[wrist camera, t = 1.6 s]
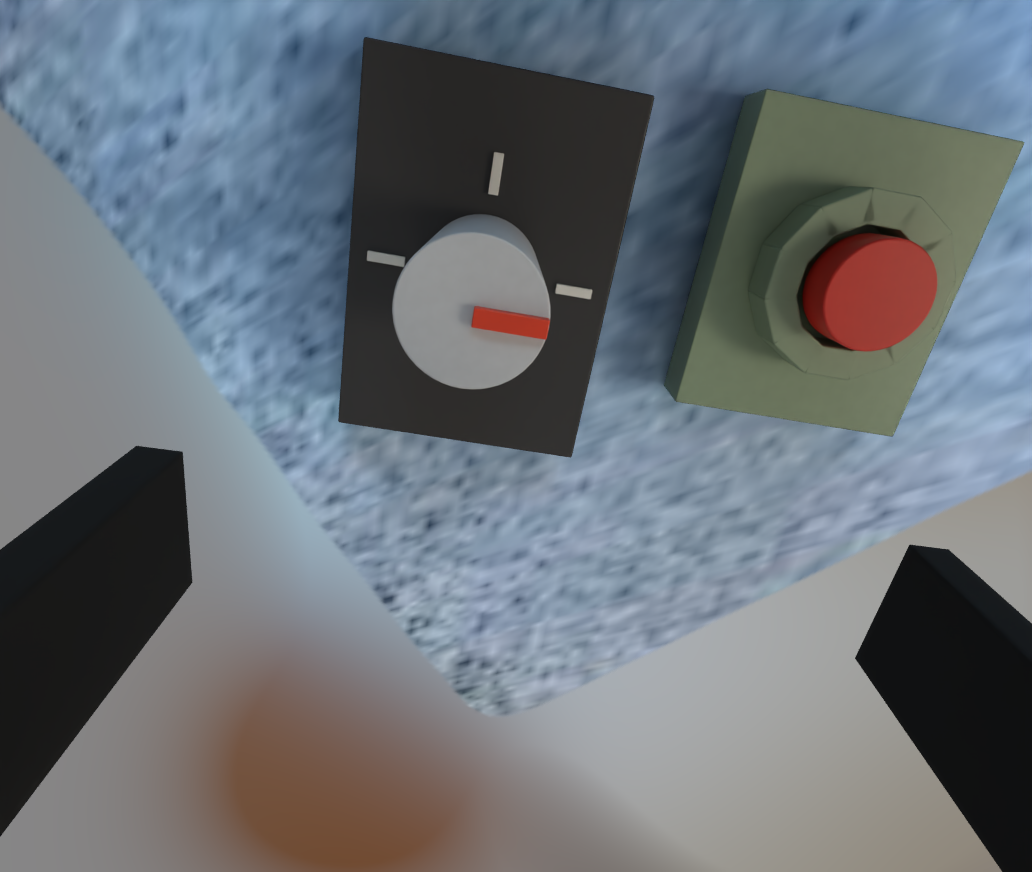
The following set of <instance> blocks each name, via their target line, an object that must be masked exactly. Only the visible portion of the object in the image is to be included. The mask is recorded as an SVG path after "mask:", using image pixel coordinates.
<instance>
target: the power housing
mask: <svg viewBox="0 0 1032 872" xmlns="http://www.w3.org/2000/svg"><path fill="white" fill-rule="evenodd" d="M1023 145H1024V142H1022V141H1017V140H1012V139H1008V138H1003V137H998V136H993V135H988V134H983V133H979V132H974V131H969V130H964V129H959V128H954V127H950V126H945V125H940V124H935V123H930V122H925V121H920V120H916V119H911V118H906V117H901V116H896V115H891V114H887V113H882V112H877V111H872V110H867V109H862V108H857V107H853V106H848V105H843V104H838V103H833V102H828V101H824V100H819V99H814V98H809V97H804V96H799V95H795V94H790V93H785V92H780V91H775V90H770V89H765V90H762V91H759V92H755V93H752V94H749V95H746V96H745V98H744V101H743V105H742V108H741V112H740V116H739V119H738V123H737V126H736V130H735V133H734V137H733V141H732V144H731V148H730V151H729V155H728V158H727V162H726V165H725V169H724V173H723V176H722V180H721V183H720V187H719V190H718V194H717V197H716V201H715V205H714V208H713V212H712V215H711V219H710V222H709V226H708V230H707V233H706V237H705V240H704V244H703V247H702V251H701V254H700V258H699V262H698V265H697V269H696V272H695V276H694V279H693V283H692V286H691V290H690V294H689V297H688V301H687V304H686V308H685V311H684V315H683V319H682V322H681V326H680V329H679V333H678V336H677V340H676V343H675V347H674V351H673V354H672V358H671V361H670V365H669V368H668V372H667V375H666V379H665V383H664V386H665V387H666V389H667V390H668V392H669V393H670V394H671V396H672V397H673V399H674V400H675V401H676V402H682V403H688V404H694V405H700V406H707V407H713V408H719V409H725V410H731V411H737V412H744V413H750V414H756V415H762V416H768V417H774V418H781V419H787V420H793V421H799V422H805V423H811V424H818V425H824V426H830V427H836V428H842V429H848V430H855V431H861V432H867V433H873V434H879V435H885V436H893V435H894V433H895V430H896V428H897V426H898V424H899V421H900V419H901V417H902V415H903V412H904V410H905V408H906V406H907V404H908V401H909V399H910V397H911V395H912V392H913V390H914V388H915V386H916V383H917V381H918V379H919V377H920V375H921V372H922V370H923V368H924V366H925V363H926V361H927V359H928V357H929V354H930V352H931V350H932V348H933V346H934V343H935V341H936V339H937V337H938V334H939V332H940V330H941V328H942V325H943V323H944V321H945V319H946V317H947V314H948V312H949V310H950V308H951V305H952V303H953V301H954V299H955V296H956V294H957V292H958V290H959V288H960V285H961V283H962V281H963V279H964V276H965V274H966V272H967V270H968V267H969V265H970V263H971V261H972V259H973V256H974V254H975V252H976V250H977V247H978V245H979V243H980V241H981V238H982V236H983V234H984V232H985V230H986V227H987V225H988V223H989V221H990V218H991V216H992V214H993V212H994V209H995V207H996V205H997V203H998V201H999V198H1000V196H1001V194H1002V192H1003V189H1004V187H1005V185H1006V183H1007V180H1008V178H1009V176H1010V174H1011V172H1012V169H1013V167H1014V165H1015V163H1016V160H1017V158H1018V156H1019V154H1020V151H1021V149H1022V147H1023ZM862 233H874V234H881V235H887V236H892V237H898V238H903V239H907V240H910V241H912V242H914V243H916V244H918V245H919V246H921V247H922V248H923V249H924V250H925V251H926V252H927V253H928V254H929V256H930V257H931V259H932V261H933V263H934V265H935V268H936V273H937V292H936V296H935V300H934V303H933V305H932V308H931V310H930V311H929V313H928V315H927V317H926V318H925V320H924V321H923V322H922V323H921V325H920V326H919V327H918V328H917V329H916V330H915V331H914V332H913V333H912V334H911V335H909V336H908V337H907V338H905V339H904V340H902V341H901V342H899V343H897V344H895V345H893V346H890V347H888V348H885V349H881V350H876V351H856V350H852V349H849V348H847V347H844V346H843V345H841V344H839V343H837V342H835V341H833V340H831V339H829V338H827V337H825V336H824V335H822V334H820V333H819V332H818V331H816V330H815V329H814V328H813V326H812V325H811V324H810V323H809V321H808V319H807V317H806V315H805V312H804V308H803V288H804V284H805V280H806V278H807V275H808V273H809V271H810V269H811V267H812V266H813V264H814V263H815V261H816V260H817V259H818V258H819V257H820V255H821V254H822V253H823V252H824V251H826V250H827V249H828V248H829V247H830V246H832V245H833V244H835V243H836V242H838V241H840V240H842V239H844V238H846V237H849V236H852V235H856V234H862Z"/></svg>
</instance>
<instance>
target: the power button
mask: <svg viewBox="0 0 1032 872" xmlns="http://www.w3.org/2000/svg"><path fill="white" fill-rule="evenodd" d="M936 292H937V273H936V268H935V265H934V263H933V261H932V259H931V257H930V256H929V254H928V253H927V252H926V251H925V250H924V249H923V248H922V247H921V246H919V245H918V244H916V243H914V242H912V241H910V240H907V239H903V238H898V237H892V236H887V235H881V234H874V233H862V234H856V235H852V236H849V237H846V238H844V239H842V240H840V241H838V242H836V243H835V244H833V245H832V246H830V247H829V248H828V249H827V250H826V251H824V252H823V253H822V254H821V255H820V257H819V258H818V259H817V260H816V261H815V263H814V264H813V266H812V267H811V269H810V271H809V273H808V275H807V278H806V280H805V284H804V288H803V308H804V312H805V315H806V317H807V319H808V321H809V323H810V324H811V325H812V326H813V328H814V329H815V330H816V331H818V332H819V333H820V334H822V335H824V336H825V337H827V338H829V339H831V340H833V341H835V342H837V343H839V344H841V345H843V346H844V347H847V348H849V349H852V350H856V351H876V350H881V349H885V348H888V347H890V346H893V345H895V344H897V343H899V342H901V341H902V340H904V339H905V338H907V337H908V336H909V335H911V334H912V333H913V332H914V331H915V330H916V329H917V328H918V327H919V326H920V325H921V323H922V322H923V321H924V320H925V318H926V317H927V315H928V313H929V311H930V310H931V308H932V305H933V303H934V300H935V296H936Z"/></svg>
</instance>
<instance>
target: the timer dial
mask: <svg viewBox="0 0 1032 872" xmlns="http://www.w3.org/2000/svg"><path fill="white" fill-rule="evenodd" d="M392 314H393V323H394V327H395V331H396V334H397V337H398V339H399V342H400V344H401V345H402V347H403V349H404V351H405V352H406V354H407V355H408V357H409V358H410V359H411V360H412V362H413V363H414V364H415V365H416V366H417V367H418V368H419V369H421V370H422V371H423V372H424V373H425V374H427V375H428V376H430V377H431V378H433V379H435V380H437V381H439V382H441V383H443V384H446V385H449V386H452V387H457V388H462V389H484V388H491V387H494V386H498V385H501V384H503V383H505V382H508V381H510V380H511V379H513V378H515V377H516V376H518V375H519V374H520V373H522V372H523V371H524V370H525V369H526V368H527V367H528V366H529V365H530V364H531V363H532V362H533V361H534V360H535V358H536V357H537V356H538V354H539V352H540V351H541V349H542V347H543V345H544V342H545V340H546V339H547V334H548V330H549V325H550V300H549V295H548V291H547V287H546V284H545V281H544V278H543V275H542V272H541V269H540V266H539V263H538V260H537V257H536V254H535V252H534V250H533V247H532V246H531V244H530V242H529V240H528V239H527V238H526V236H525V235H524V234H523V233H522V232H521V231H520V230H519V229H518V228H517V227H515V226H514V225H513V224H511V223H510V222H508V221H506V220H504V219H502V218H499V217H496V216H492V215H486V214H473V215H467V216H464V217H460V218H458V219H456V220H454V221H452V222H450V223H449V224H447V225H446V226H444V227H443V228H442V229H441V230H440V231H439V232H438V233H437V234H436V235H435V236H433V237H432V238H431V239H430V240H429V241H428V242H427V243H426V244H425V245H424V246H423V247H422V248H421V249H420V250H418V251H417V252H416V253H415V254H414V255H413V257H412V258H411V259H410V260H409V261H408V262H407V264H406V265H405V267H404V268H403V270H402V272H401V274H400V276H399V278H398V280H397V283H396V287H395V290H394V295H393V303H392Z"/></svg>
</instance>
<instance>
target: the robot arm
mask: <svg viewBox="0 0 1032 872" xmlns="http://www.w3.org/2000/svg"><path fill="white" fill-rule="evenodd" d="M187 519H188V518H187V505H186V491H185V478H184V464H183V453H182V452H180V451H172V450H164V449H157V448H149V447H141V446H136V447H134V448H133V449H132V450H130V451H129V452H128V453H127V454H125V455H124V456H123V457H121V458H120V459H119V460H118V461H116V462H115V463H113V464H112V465H111V466H109V467H108V468H107V469H106V470H104V471H103V472H102V473H101V474H99V475H98V476H97V477H95V478H94V479H92V480H91V481H90V482H89V483H87V484H86V485H85V486H83V487H82V488H81V489H79V490H78V491H77V492H75V493H74V494H73V495H71V496H70V497H69V498H68V499H66V500H65V501H64V502H62V503H61V504H60V505H58V506H57V507H56V508H55V509H53V510H52V511H50V512H49V513H48V514H47V515H45V516H44V517H43V518H41V519H40V520H39V521H37V522H36V523H35V524H33V525H32V526H31V527H29V528H28V529H27V530H26V531H24V532H23V533H22V534H20V535H19V536H18V537H16V538H15V539H14V540H12V541H11V542H10V543H8V544H7V545H6V546H5V547H3V548H2V549H1V550H0V836H1V835H2V833H3V832H4V831H5V830H6V828H7V827H8V826H9V824H10V823H11V822H12V820H13V819H14V818H15V816H16V815H17V814H18V812H19V811H20V810H21V808H22V807H23V806H24V804H25V803H26V802H27V801H28V799H29V798H30V796H31V795H32V794H33V793H34V791H35V790H36V788H37V787H38V786H39V784H40V783H41V782H42V781H43V779H44V778H45V777H46V775H47V774H48V773H49V771H50V770H51V769H52V767H53V766H54V765H55V763H56V762H57V761H58V759H59V758H60V757H61V755H62V754H63V753H64V751H65V750H66V749H67V748H68V746H69V745H70V744H71V742H72V741H73V740H74V738H75V737H76V736H77V734H78V733H79V732H80V730H81V729H82V728H83V726H84V725H85V724H86V722H87V721H88V720H89V718H90V717H91V716H92V714H93V713H94V712H95V710H96V709H97V708H98V707H99V705H100V704H101V702H102V701H103V700H104V698H105V697H106V696H107V695H108V693H109V692H110V691H111V689H112V688H113V686H114V685H115V684H116V683H117V681H118V680H119V679H120V677H121V676H122V675H123V673H124V672H125V671H126V670H127V668H128V667H129V665H130V664H131V663H132V662H133V660H134V659H135V658H136V656H137V655H138V654H139V652H140V651H141V650H142V648H143V647H144V646H145V644H146V643H147V642H148V640H149V639H150V638H151V636H152V635H153V634H154V632H155V631H156V630H157V628H158V627H159V626H160V625H161V623H162V622H163V621H164V619H165V618H166V616H167V615H168V614H169V613H170V611H171V610H172V609H173V607H174V606H175V605H176V603H177V602H178V601H179V599H180V598H181V597H182V595H183V594H184V593H185V591H186V590H187V589H188V587H189V586H190V585H191V583H192V572H191V559H190V545H189V532H188V520H187ZM855 659H856V660H857V662H858V663H859V665H860V666H861V668H862V669H863V670H864V672H865V673H866V675H867V676H868V678H869V679H870V681H871V682H872V684H873V685H874V686H875V688H876V689H877V691H878V692H879V694H880V695H881V697H882V698H883V699H884V701H885V702H886V704H887V705H888V707H889V708H890V710H891V711H892V712H893V714H894V715H895V717H896V718H897V720H898V721H899V723H900V724H901V726H902V727H903V728H904V730H905V731H906V733H907V734H908V736H909V737H910V739H911V740H912V741H913V743H914V744H915V746H916V747H917V749H918V750H919V751H920V753H921V754H922V756H923V757H924V759H925V760H926V762H927V763H928V765H929V766H930V767H931V769H932V770H933V772H934V773H935V775H936V776H937V778H938V779H939V781H940V782H941V783H942V785H943V786H944V788H945V789H946V790H947V792H948V793H949V795H950V797H951V798H952V799H953V801H954V802H955V804H956V805H957V806H958V808H959V809H960V811H961V812H962V814H963V815H964V817H965V818H966V820H967V821H968V823H969V824H970V825H971V827H972V828H973V830H974V831H975V833H976V834H977V835H978V837H979V838H980V840H981V841H982V843H983V844H984V846H985V847H986V849H987V850H988V851H989V853H990V854H991V856H992V857H993V859H994V860H995V862H996V863H997V864H998V866H999V867H1000V869H1001V870H1002V872H1032V623H1030V622H1029V621H1028V620H1027V619H1026V618H1025V617H1024V616H1023V615H1021V614H1020V613H1019V612H1018V611H1017V610H1016V609H1015V608H1014V607H1012V606H1011V605H1010V604H1009V603H1008V602H1007V601H1006V600H1004V599H1003V598H1002V597H1001V596H1000V595H999V594H998V593H997V592H996V591H994V590H993V589H992V588H991V587H990V586H989V585H988V584H986V582H984V581H983V580H982V579H981V578H980V577H979V576H978V575H977V574H975V573H974V572H973V571H972V570H971V569H970V568H969V567H967V566H966V565H965V564H964V563H963V562H962V561H961V560H960V559H958V558H957V557H956V556H955V555H954V554H953V553H951V551H949V550H948V549H940V548H932V547H924V546H916V545H909V547H908V549H907V551H906V553H905V555H904V557H903V560H902V561H901V564H900V566H899V568H898V570H897V572H896V574H895V576H894V578H893V580H892V582H891V584H890V586H889V589H888V591H887V593H886V595H885V597H884V599H883V601H882V603H881V605H880V607H879V609H878V611H877V613H876V616H875V618H874V620H873V622H872V624H871V626H870V628H869V630H868V632H867V634H866V636H865V639H864V641H863V643H862V645H861V647H860V649H859V651H858V653H857V655H856V657H855Z"/></svg>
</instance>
